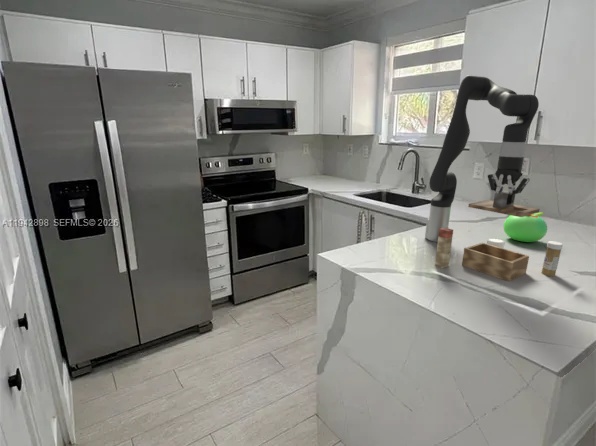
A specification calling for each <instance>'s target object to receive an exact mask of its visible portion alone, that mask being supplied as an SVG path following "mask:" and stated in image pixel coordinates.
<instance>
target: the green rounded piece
mask: <svg viewBox="0 0 596 446" xmlns="http://www.w3.org/2000/svg"><path fill="white" fill-rule="evenodd" d="M544 214H545V213H544V212H540V211H539V212H538V213H534V214H531V215H528V216H524V217H517V216H512V215H507V216H508V217H507V218H506V219H505V220H504V222H503V231H504V233H505V235H506V236H508V237H509V238H510V239H512V240H514V241H518V242H522V243H533V242H537V241H540V240H542V239H543V238H544V237H545V236H546V234H547V233H548V225H547V223H546V221H545V220H544V219H543V218H542V216H543V215H544Z"/></svg>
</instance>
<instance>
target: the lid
mask: <svg viewBox="0 0 596 446" xmlns="http://www.w3.org/2000/svg"><path fill="white" fill-rule="evenodd" d="M508 195H509V190H504V191H502V192H499V193H496V192H495V193H494V196H493V200H490V199H486V200H481V201H480V200H479V201H476V202H472V203H468V206H467V207H468V208H470V209H476V210H477V209H478V210H482V211H485V212H486V211H487V212H493V213H497V214H502V215H507V216H508V215H512V216H517V217H524V216H528V215H531V214H535V213H540V208H537V207H530V206H525V205H519V204H515V199H516V194H515V195H514V201H513V203H512V204H511V205H507V199H508Z"/></svg>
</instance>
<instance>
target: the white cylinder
mask: <svg viewBox="0 0 596 446" xmlns="http://www.w3.org/2000/svg"><path fill="white" fill-rule="evenodd" d="M505 243H506V241H505V240H504V239H500V238H497V237H495V238H494V237H489V238H487V239H486V244H489V245H493V246H496V247H500V248H503V249H505V248H504V247H505Z"/></svg>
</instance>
